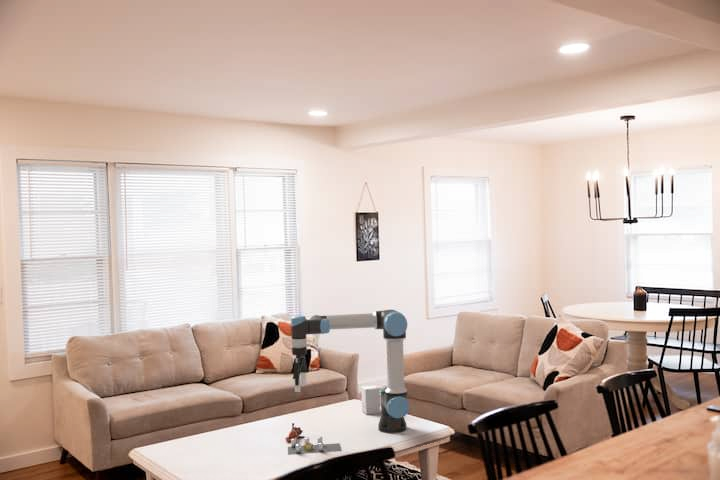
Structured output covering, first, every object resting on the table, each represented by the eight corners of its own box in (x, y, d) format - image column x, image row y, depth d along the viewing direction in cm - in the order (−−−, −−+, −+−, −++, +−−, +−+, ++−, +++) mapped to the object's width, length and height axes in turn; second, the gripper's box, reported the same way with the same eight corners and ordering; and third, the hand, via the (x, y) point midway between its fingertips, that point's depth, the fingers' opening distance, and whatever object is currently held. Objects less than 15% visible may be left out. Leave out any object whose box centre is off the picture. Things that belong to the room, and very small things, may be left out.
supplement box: (380, 413, 387) (380, 388, 387) (366, 415, 384) (365, 389, 384) (376, 409, 396) (375, 384, 395) (361, 411, 393) (360, 386, 393)
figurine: (309, 435, 349) (300, 441, 335) (298, 444, 350) (289, 451, 336) (297, 419, 351) (288, 425, 337) (286, 429, 352) (276, 435, 338)
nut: (312, 447, 327) (312, 442, 327) (313, 450, 323) (313, 445, 323) (303, 448, 327) (303, 443, 327) (303, 450, 323) (303, 445, 323)
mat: (339, 444, 333) (339, 443, 333) (341, 452, 321) (341, 450, 321) (287, 447, 330) (287, 446, 330) (287, 455, 318) (287, 454, 318)
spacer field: (322, 444, 332) (322, 436, 332) (323, 452, 320) (323, 443, 320) (291, 446, 330) (291, 438, 330) (291, 454, 318) (291, 445, 318)
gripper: (297, 342, 348) (299, 382, 349) (286, 351, 324) (287, 394, 324) (311, 342, 347) (313, 382, 348) (301, 351, 323) (302, 394, 323)
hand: (300, 388), depth 336 cm, fingers open, 13 cm apart
